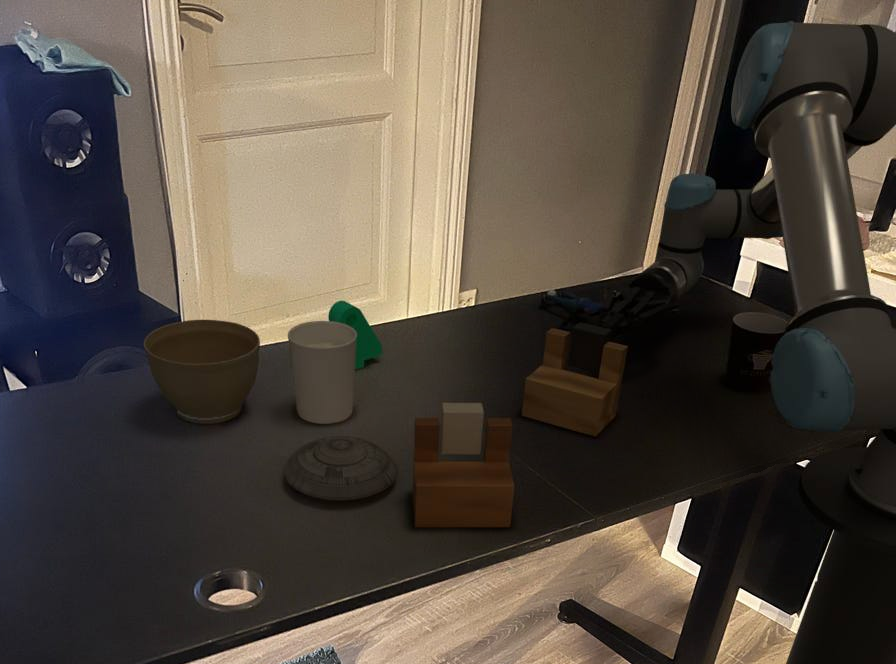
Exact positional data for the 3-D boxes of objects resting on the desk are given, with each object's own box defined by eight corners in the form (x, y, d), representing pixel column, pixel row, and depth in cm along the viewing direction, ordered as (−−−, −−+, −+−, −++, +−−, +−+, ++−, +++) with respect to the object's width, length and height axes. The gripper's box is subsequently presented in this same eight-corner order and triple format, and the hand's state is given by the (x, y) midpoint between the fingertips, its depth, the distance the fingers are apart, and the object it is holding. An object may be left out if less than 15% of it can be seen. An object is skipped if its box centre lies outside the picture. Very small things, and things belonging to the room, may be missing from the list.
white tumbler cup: (332, 433, 140) (330, 353, 132) (278, 415, 144) (273, 336, 136) (370, 408, 146) (370, 330, 139) (318, 391, 150) (315, 315, 143)
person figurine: (525, 318, 180) (587, 338, 167) (525, 293, 178) (588, 312, 165) (571, 308, 185) (635, 327, 172) (572, 283, 182) (637, 300, 169)
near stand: (412, 494, 127) (414, 417, 120) (503, 494, 128) (510, 418, 121) (415, 527, 121) (417, 448, 114) (510, 527, 122) (518, 449, 115)
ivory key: (440, 444, 125) (442, 402, 122) (478, 444, 125) (481, 402, 122) (441, 454, 123) (443, 412, 119) (480, 454, 123) (483, 412, 120)
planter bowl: (234, 444, 136) (227, 371, 129) (133, 424, 140) (121, 352, 133) (282, 397, 148) (278, 328, 141) (188, 380, 152) (179, 312, 145)
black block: (574, 359, 147) (580, 321, 144) (605, 366, 145) (611, 329, 142) (567, 365, 146) (572, 327, 142) (598, 373, 144) (604, 335, 140)
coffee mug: (714, 388, 155) (729, 327, 149) (722, 368, 161) (736, 308, 155) (789, 402, 152) (807, 340, 146) (794, 381, 158) (812, 321, 152)
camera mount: (355, 346, 164) (355, 285, 158) (382, 361, 159) (382, 299, 153) (295, 362, 158) (292, 299, 152) (321, 379, 154) (318, 315, 147)
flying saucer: (359, 521, 122) (358, 483, 118) (262, 488, 127) (258, 451, 124) (417, 471, 132) (418, 434, 129) (325, 442, 137) (324, 407, 134)
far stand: (543, 396, 151) (551, 327, 144) (615, 416, 147) (628, 346, 140) (521, 416, 146) (528, 345, 139) (595, 436, 141) (607, 365, 134)
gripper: (688, 320, 163) (639, 368, 147) (616, 303, 168) (561, 349, 152) (698, 275, 158) (648, 320, 142) (623, 259, 163) (567, 301, 147)
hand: (603, 335), depth 147 cm, fingers closed
